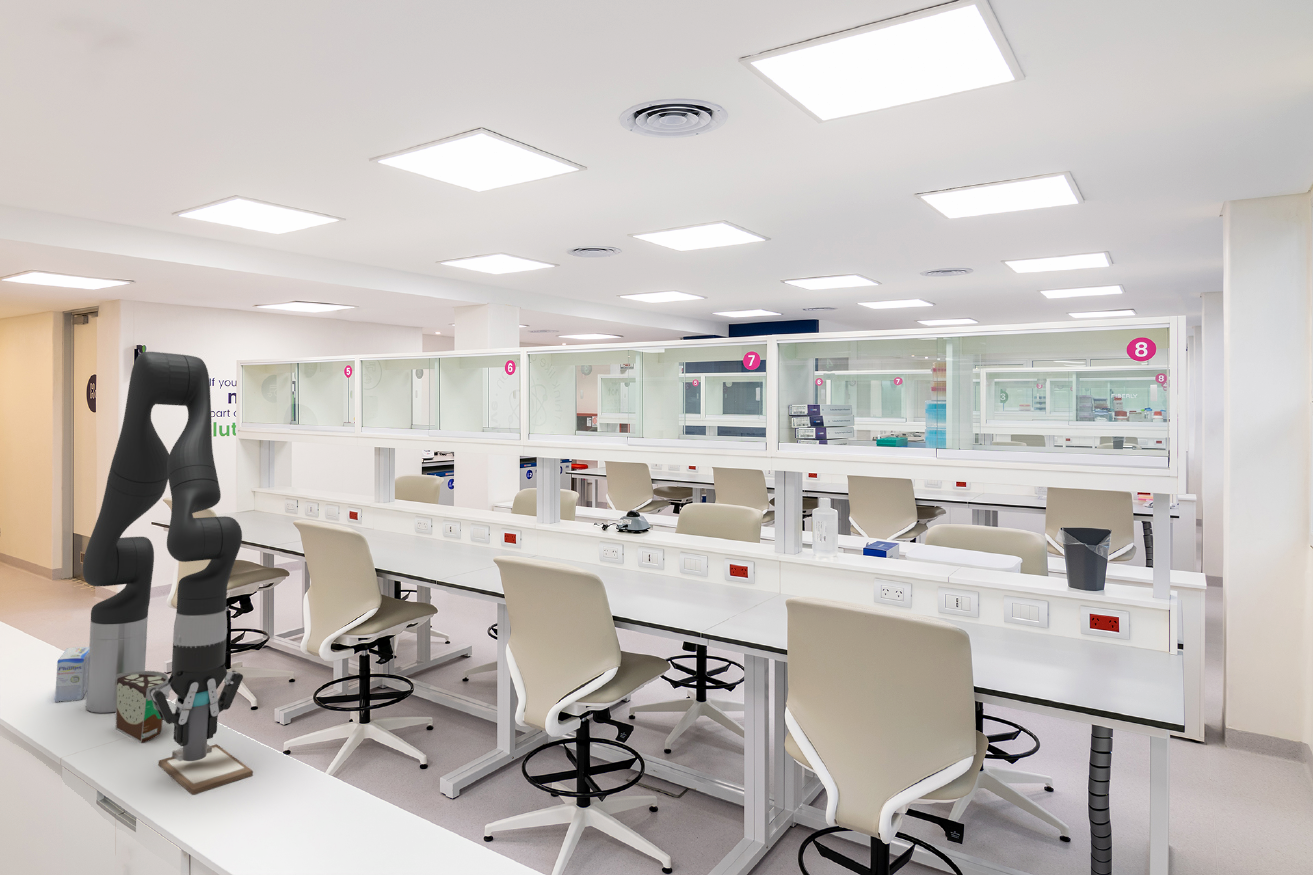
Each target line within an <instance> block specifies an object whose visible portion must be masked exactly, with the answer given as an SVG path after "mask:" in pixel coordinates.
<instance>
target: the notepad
mask: <svg viewBox="0 0 1313 875" xmlns="http://www.w3.org/2000/svg"><path fill="white" fill-rule="evenodd" d="M182 755H183V747H182V748H177V749H174V750H172V753H171V756H170V757H166V758H163V759H159V760H158V766H159V767H160V766H161V767H162V768H163V769H164V770H163V769H162V768H161V767H160V768H161V769H162V770H163V771H164V772H166V773H167V774H168V775H169V776H170V775H171V776H170V777H171V778H173V779H174V781H176V782H177V783H179V785H181V786H182V787H183V788H184V789H185V790H187V791H188V792H189V793H190V794H191V796H192V795H196V794H199V793H202V792H205V791H208V790H211V789H215V788H218V787H221V786H224V785H228V784H230V783H234V782H236V781H241V780H243V779H246V778H249V777H252V776H253V774H254V770H253V769H251V768H250V767H249V766H247V765H246V764H244V763H243V762H242V761H240V760H239V759H238V758H236V757H235V756H233V754H231V753H229V752H228V751H227V750H226V749H224V748H223V747H221V746H220V745H218V744H217V743H215V744H212V745H210V744H208V743H207V754H206V757H204V758H202V759H200V760H196V761H184V760H183V759H182Z"/></svg>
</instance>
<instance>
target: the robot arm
mask: <svg viewBox="0 0 1313 875" xmlns="http://www.w3.org/2000/svg"><path fill="white" fill-rule="evenodd" d="M131 368H132V369H131V373H130V378H129V383H128V391H127V396H126V403H125V409H124V416H123V421H122V424H121V431H120V433H119V438H118V440H117V444H116V448H115V451H114V454H113V456H112V460H111V464H110V468H109V472H108V476H107V481H106V486H105V490H104V495H103V499H102V503H101V507H100V511H99V513H98V517H97V519H96V522H95V524H94V527H93V530H92V533H91V536H90V539H89V541H88V544H87V546H86V549H85V553H84V556H83V562H82V574H83V575H82V576H83V579H84V581H85V582H86V583H87V584H88V585H89V586H91V587H113V586H121V585H125V586H124V587H123V589H122V590H120V591H119V592H117V593H116V594H114V595H112V596H110V597H109V598H106V599H104V600H102V601H99V602H97V603H95V604H94V605H93V606H92V608H91V611H90V628H89V646H88V647H89V663H88V682H87V691H86V699H85V700H86V703H85V705H86V706H85V709H86V710H87V711H89V712H92V713H98V714H99V713H101V714H102V713H116V685H114V682H115V677H116V674H120V673H125V672H133V671H146V658H147V639H148V621H149V620H148V619H149V618H148V617H149V607H150V603H151V591H152V590H151V589H152V580H153V575H154V574H153V572H154V564H155V563H154V562H155V550H154V546H153V543H152V541H151V540H150V539H149V538H148V537H147V536H128V537H127V536H125V537H124V536H123V533H124V532H125V531H126V530H127V529H128V528H129V527H130V526H131V525H132V524H133V523H134V522H135V521H137V520H138V519H139V518H140V517H142V516H143V515H145V514H146V513H147V512H148V511H150V509H152V508H153V507H154V506H155V505H156V504H157V503H158V502H159V501H160V499H161V498H162V497H163V495H164V494H165V490H166V488H167V485H168V484H169V489H170V490H169V491H170V494H171V495H170V496H171V513H170V515H171V516H170V522H169V527H168V532H167V537H166V548H167V551H168V553H169V555H170V556H171V557H172V558H173V559H174V560H176V561H177V562H182V563H189V562H190V563H191V562H198V561H207V560H208V561H209V563H208V564H207V566H206V567H205V568H204V569H202V570H200V571H197V572H194V573H191V574H190V573H189V574H188V575H185V576H183V577H182V578H180V579H179V582H178V583H177V590H176V591H177V592H176V593H177V594H176V595H177V596H176V597H177V598H176V612H175V620H174V624H173V635H172V636H173V637H172V655H171V656H172V658H171V659H172V660H171V674H170V676H169V677H168V678H169V680H168V683H166V684H165V685H163V686H161V687H159V688H152V689H151V690H150V691H149V694H150V696H151V698H152V700H153V702H154V705H155V707H156V709H157V711H158V713H159V715H160V717H161V719H162V721H164V722H165V723H166V724H167V725H171V724H173V738H172V739H173V741H174V742H175V743H176V744H177V745H179V746H180V747H182V748H183V746H185V745H187V735H188V723H186V721H187V718H188V714H189V711H190V710H191V708H192V705H193V701H194V697H195V694H196V693H200V692H204V691H208V697H209V715H208V735H207V740H210V739H213V738H214V735H216V733H217V731H218V717H219V716H218V715H219V714H220V713H221V712H222V711H225V710H228V709H230V708H231V706H232V704H233V702H234V699H235V697H236V694H237V692H238V690H239V688H240V685H241V683H242V682H243V679H244V675H243V674H241V673H240V672H238V671H236V670H231V671H229V670H227V668H226V666H225V663H226V650H227V634H228V628H227V627H228V620H227V619H228V617H227V597H228V596H227V595H228V585H229V580H230V577H231V574H232V571H233V568H234V565H235V562H236V559H237V556H238V554H239V551H240V548H241V545H242V540H243V532H242V528H241V525H240V524H239V522H238V521H237V520H236V518H234V517H231V516H226V515H225V516H209V517H208V516H207V517H194V516H193V515H194V513H198V512H201V511H205V510H208V509H211V508H213V507H215V506H217V504H218V503H219V502H220V500H221V497H222V496H221V488H220V484H219V479H218V474H217V473H218V472H217V470H216V469H217V468H216V464H215V459H214V452H213V451H214V450H213V439H212V438H213V436H212V434H213V433H212V431H213V430H212V426H213V424H212V401H211V398H212V397H211V382H210V375H209V371H208V368H207V365H206V363H205V362H204V360H203V359H201V358H200V357H197V356H194V355H188V354H181V353H180V354H179V353H169V352H159V351H144V352H140V353H139V354H138V356H137V357H136V359H135V361H134V363H133V365H132V367H131ZM155 405H160V406H161V405H164V406H165V405H166V406H182V407H183V406H184V407H186V408H187V413H188V414H187V422H186V425H185V426H184V429H183V431H182V432H181V434H180V435H179V437H178V438H177V440H176V441H175V443H174V445H173V446H172V449H171V451H170V453H169V451H168V449H167V447H166V446H165V444H164V442H163V441H162V439H161V438H160V436H159V434H158V433H157V430H156V428H155V426H154V424H153V421H152V412H153V411H152V410H153V409H154V408H153V407H154V406H155ZM122 536H123V537H122ZM222 683H224V686H223V688H222V689H221V690H222V691H221V693H220V695H219V697H218V692H217V691H218V688H219V687H220V685H221V684H222ZM171 690H172V691H173V693H175V694H176V698H175V703H174V704H175V708H174V711H172V709H171V707H170V704H169V702H168V699H169V697H170V692H171Z"/></svg>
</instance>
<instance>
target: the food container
mask: <svg viewBox="0 0 1313 875" xmlns="http://www.w3.org/2000/svg"><path fill="white" fill-rule="evenodd" d="M169 678H170V677H169V675H168V674H167V673H164V672H162V671H157V670H156V671H155V670H145V671H133V672H125V673H120V674H116V677H115V682H114V685H116V712H115V730H116V731H117V732H120V733H122V734H124V735H126V736H127V737H129V738H131V739H133V740H135V741H137V742H139V743H140V742H141V744H143V743H146V742H149V741H151V740H153V739H154V738H157V737H158V736H159V735H160V734H161V731H162V727H163V726H162V725H163V720H162V719H161V717H160V715H159V713H158V711H157V709H156V707H155V705H154V702H153V700H152V698H151V696H150V694H149V691H150V690H151V689H152V688H159V687H161V686H163V685H165V684H166V683H168V680H169ZM148 740H149V741H148Z"/></svg>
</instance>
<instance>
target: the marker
mask: <svg viewBox="0 0 1313 875" xmlns="http://www.w3.org/2000/svg"><path fill="white" fill-rule="evenodd" d="M208 715H209V697H208V691H204V692H200V693H196V694H195V697H194V701H193V705H192V708H191V710H190V711H189V714H188V718H187V721H186V723H188V735H187V745H185V746H182V748H183V755H182V759H183V760H184V761H196V760H200V759H202V758H204V757H206V754H207V744H208V739H207V735H208Z"/></svg>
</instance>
